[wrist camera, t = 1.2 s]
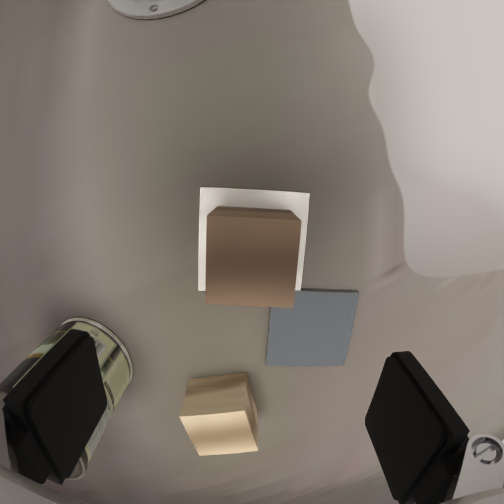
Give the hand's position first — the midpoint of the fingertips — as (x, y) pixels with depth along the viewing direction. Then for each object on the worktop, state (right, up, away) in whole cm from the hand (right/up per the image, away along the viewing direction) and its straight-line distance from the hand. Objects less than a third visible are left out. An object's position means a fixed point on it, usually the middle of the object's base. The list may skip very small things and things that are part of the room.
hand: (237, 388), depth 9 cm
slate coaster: (+6, -3, +20) cm, 21 cm away
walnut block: (0, +5, +17) cm, 18 cm away
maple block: (-3, -11, +22) cm, 25 cm away
